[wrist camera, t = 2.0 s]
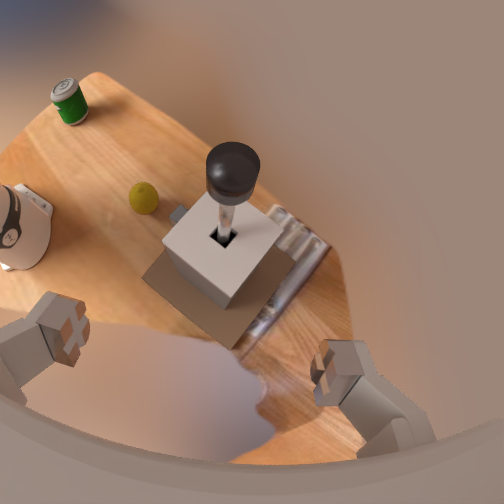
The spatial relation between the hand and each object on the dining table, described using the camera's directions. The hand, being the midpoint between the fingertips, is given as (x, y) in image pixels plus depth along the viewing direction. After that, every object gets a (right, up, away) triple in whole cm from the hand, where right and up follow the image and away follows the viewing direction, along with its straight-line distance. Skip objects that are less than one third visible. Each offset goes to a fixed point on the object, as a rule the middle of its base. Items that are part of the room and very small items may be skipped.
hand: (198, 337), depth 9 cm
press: (-4, -1, +43) cm, 43 cm away
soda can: (-44, +38, +49) cm, 75 cm away
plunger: (-3, +2, +33) cm, 33 cm away
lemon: (-19, +11, +45) cm, 50 cm away
